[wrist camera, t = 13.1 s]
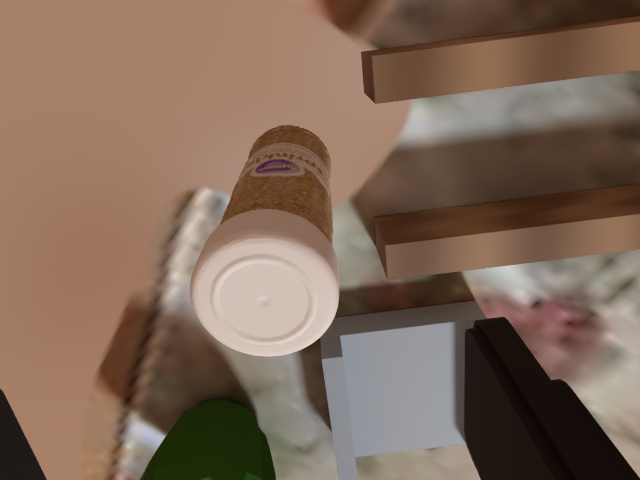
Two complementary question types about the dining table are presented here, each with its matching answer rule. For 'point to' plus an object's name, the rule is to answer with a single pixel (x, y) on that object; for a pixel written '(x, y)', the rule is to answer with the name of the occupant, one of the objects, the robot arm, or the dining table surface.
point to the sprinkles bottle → (272, 251)
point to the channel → (520, 214)
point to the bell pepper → (213, 446)
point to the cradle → (396, 380)
